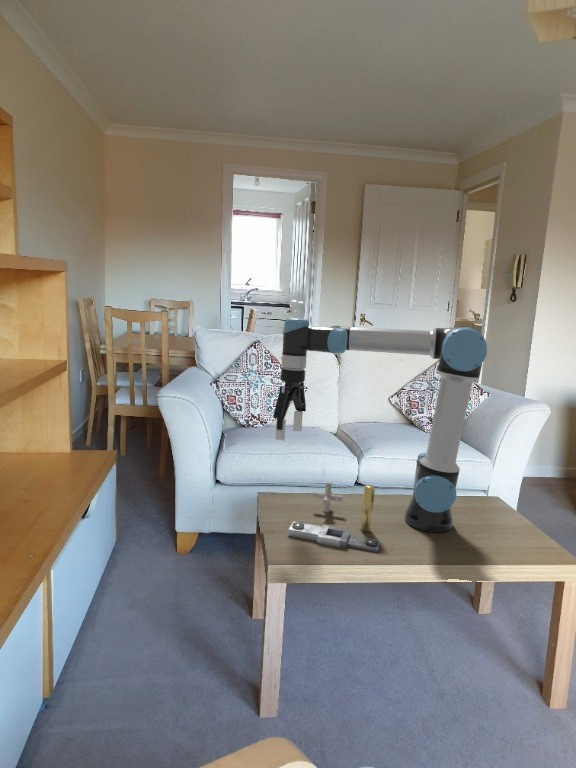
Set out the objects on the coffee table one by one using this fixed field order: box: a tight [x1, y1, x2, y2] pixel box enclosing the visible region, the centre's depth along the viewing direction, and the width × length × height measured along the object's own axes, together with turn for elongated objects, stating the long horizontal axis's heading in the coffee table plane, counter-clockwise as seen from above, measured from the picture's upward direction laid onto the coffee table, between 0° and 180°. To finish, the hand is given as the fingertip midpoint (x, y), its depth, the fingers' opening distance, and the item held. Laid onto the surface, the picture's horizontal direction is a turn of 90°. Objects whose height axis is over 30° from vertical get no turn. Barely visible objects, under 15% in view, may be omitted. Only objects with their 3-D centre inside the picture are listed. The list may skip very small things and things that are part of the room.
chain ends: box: [287, 521, 381, 553], centre depth 155 cm, size 26×8×3 cm, turn 75°
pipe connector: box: [311, 481, 344, 513], centre depth 175 cm, size 10×10×10 cm
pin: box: [359, 484, 376, 533], centre depth 163 cm, size 3×3×14 cm
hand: (288, 435), depth 167 cm, fingers open, 13 cm apart
